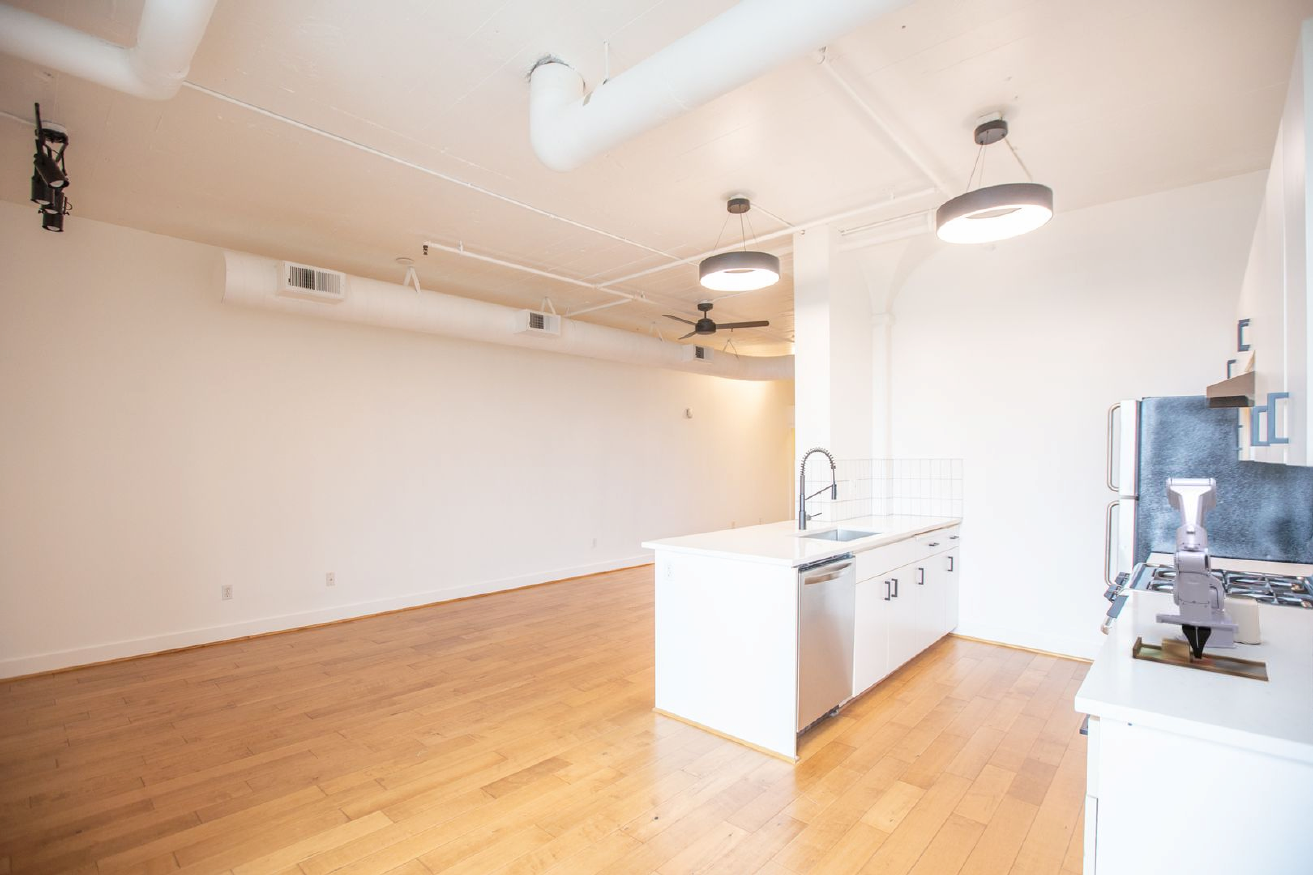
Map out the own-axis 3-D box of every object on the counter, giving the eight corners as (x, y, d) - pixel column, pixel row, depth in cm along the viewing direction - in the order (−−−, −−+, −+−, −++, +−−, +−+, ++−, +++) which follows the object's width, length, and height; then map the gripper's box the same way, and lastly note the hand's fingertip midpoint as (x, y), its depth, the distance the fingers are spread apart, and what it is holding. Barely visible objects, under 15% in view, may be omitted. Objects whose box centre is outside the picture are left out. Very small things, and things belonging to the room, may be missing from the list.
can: (1267, 645, 150) (1264, 599, 151) (1238, 644, 152) (1235, 598, 152) (1247, 637, 157) (1244, 593, 157) (1220, 637, 158) (1217, 592, 159)
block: (1190, 658, 141) (1189, 641, 141) (1190, 663, 138) (1188, 646, 138) (1163, 653, 145) (1162, 637, 145) (1162, 658, 141) (1161, 642, 141)
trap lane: (1265, 666, 135) (1264, 656, 135) (1268, 682, 126) (1267, 670, 126) (1138, 646, 151) (1138, 636, 151) (1132, 658, 142) (1132, 648, 142)
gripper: (1153, 599, 141) (1157, 655, 141) (1237, 608, 131) (1241, 669, 131) (1156, 594, 146) (1159, 648, 146) (1236, 603, 136) (1240, 661, 136)
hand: (1198, 657), depth 139 cm, fingers closed
